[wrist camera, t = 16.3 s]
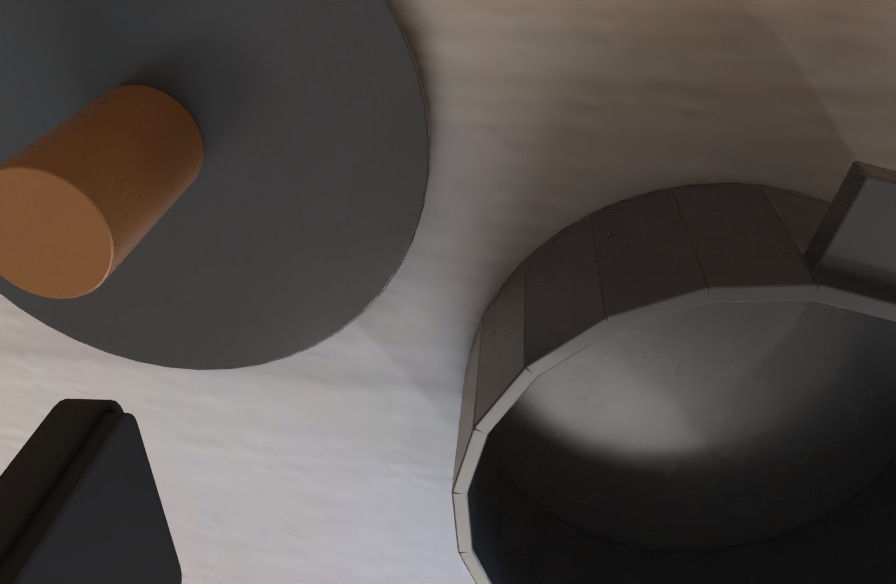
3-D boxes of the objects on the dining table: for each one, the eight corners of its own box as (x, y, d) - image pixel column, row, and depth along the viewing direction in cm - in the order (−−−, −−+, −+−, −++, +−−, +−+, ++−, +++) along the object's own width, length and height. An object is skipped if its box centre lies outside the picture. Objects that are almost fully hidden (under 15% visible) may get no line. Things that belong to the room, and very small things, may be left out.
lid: (-84, 289, 30) (-250, 421, 24) (-156, -269, 21) (-459, -302, 15) (376, 399, 31) (336, 556, 25) (496, -91, 22) (483, -47, 16)
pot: (411, 541, 35) (389, 678, 30) (567, 38, 24) (579, 108, 18) (776, 626, 36) (821, 774, 30) (1097, 179, 24) (1262, 287, 19)
